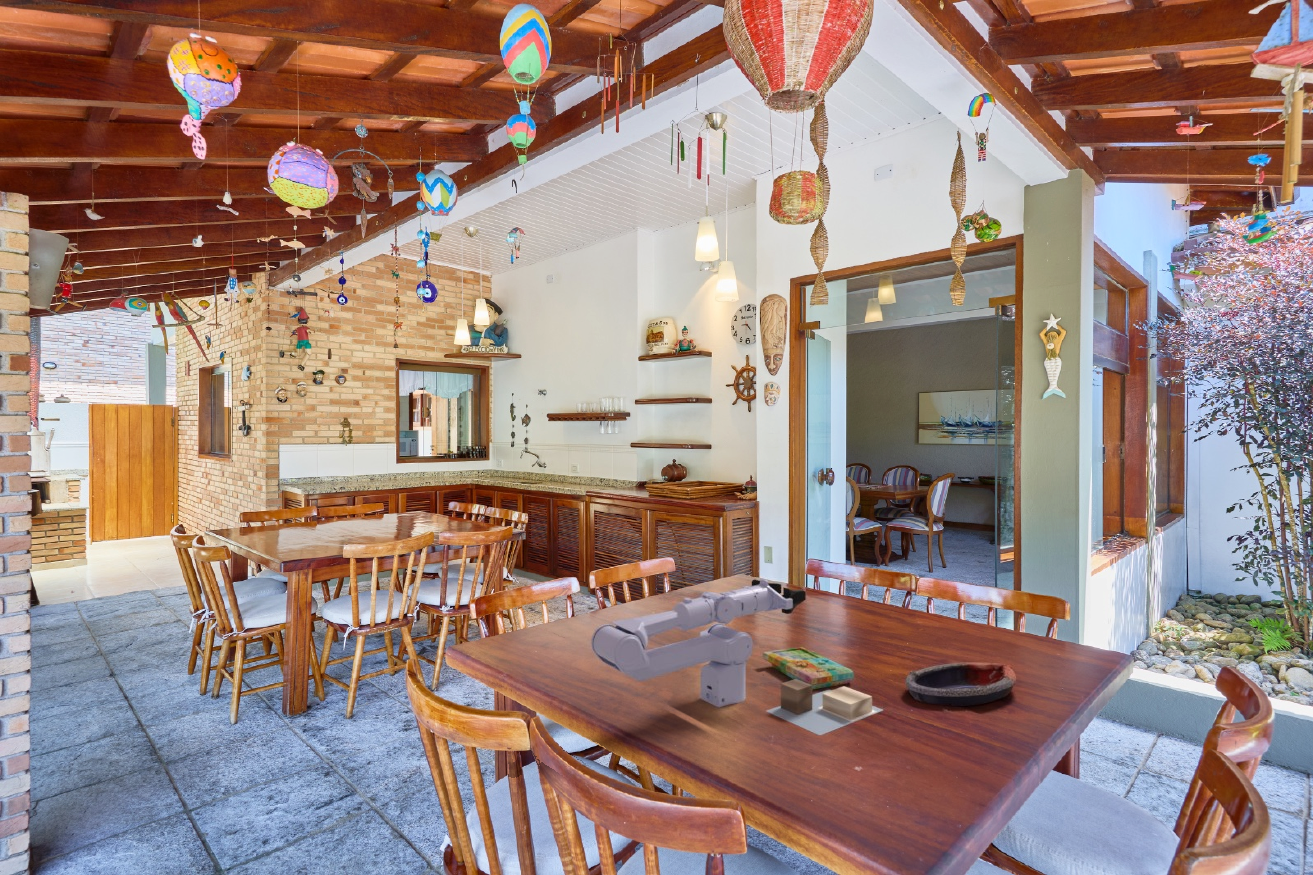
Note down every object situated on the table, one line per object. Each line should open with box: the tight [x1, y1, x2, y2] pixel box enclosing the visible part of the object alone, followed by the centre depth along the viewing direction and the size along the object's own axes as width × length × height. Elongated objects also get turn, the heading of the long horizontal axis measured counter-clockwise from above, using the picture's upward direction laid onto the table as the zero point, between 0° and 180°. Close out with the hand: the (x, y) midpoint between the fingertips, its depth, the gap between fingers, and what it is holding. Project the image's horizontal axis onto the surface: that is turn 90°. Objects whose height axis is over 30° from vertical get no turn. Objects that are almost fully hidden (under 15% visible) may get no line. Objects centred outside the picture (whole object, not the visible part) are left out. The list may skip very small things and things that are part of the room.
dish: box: [904, 662, 1017, 707], centre depth 146 cm, size 16×31×5 cm, turn 113°
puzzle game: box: [762, 646, 855, 690], centre depth 156 cm, size 12×5×20 cm
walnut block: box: [780, 679, 813, 715], centre depth 135 cm, size 4×4×5 cm
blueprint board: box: [765, 689, 884, 736], centre depth 134 cm, size 20×14×1 cm
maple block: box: [822, 686, 873, 720], centre depth 135 cm, size 7×7×3 cm
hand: (792, 591), depth 152 cm, fingers open, 7 cm apart
